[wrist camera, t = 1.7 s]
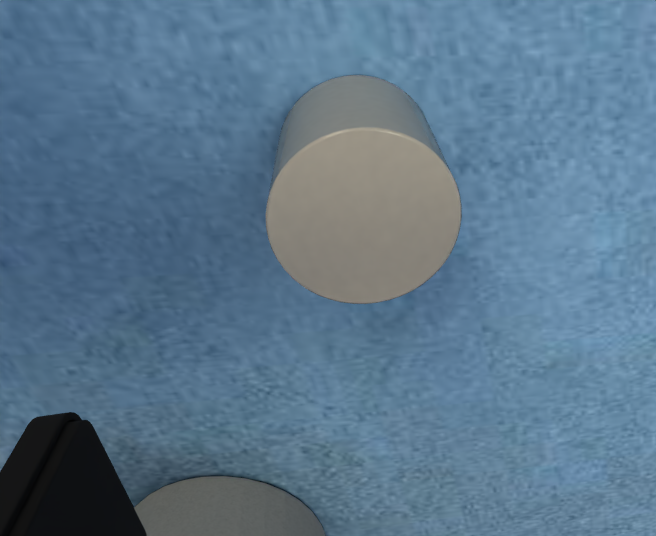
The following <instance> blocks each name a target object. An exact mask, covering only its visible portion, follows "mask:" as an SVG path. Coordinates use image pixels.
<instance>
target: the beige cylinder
mask: <svg viewBox="0 0 656 536" xmlns="http://www.w3.org/2000/svg"><path fill="white" fill-rule="evenodd" d="M461 218H462V215H461V200H460V194H459V191H458V187H457V184H456V182H455V180H454V177H453V175H452V173H451V171H450V169H449V167H448V165H447V163H446V161H445V158H444V156H443V154H442V152H441V150H440V148H439V146H438V144H437V142H436V140H435V137H434V135H433V133H432V131H431V129H430V127H429V125H428V123H427V121H426V119H425V116H424V114H423V112H422V111H421V109H420V108H419V106H418V105H417V103H416V102H415V101H414V100H413V99H412V98H411V97H410V96H409V95H408V94H407V93H406V92H404V91H403V90H402V89H400V88H399V87H397V86H396V85H394V84H392V83H390V82H387V81H385V80H382V79H379V78H376V77H371V76H364V75H350V76H342V77H338V78H334V79H331V80H328V81H326V82H323V83H321V84H319V85H317V86H316V87H314V88H312V89H311V90H310V91H308V92H307V93H306V94H304V95H303V96H302V97H301V98H300V99H299V100H298V101H297V102H296V103H295V105H294V106H293V107H292V109H291V110H290V112H289V113H288V115H287V117H286V119H285V121H284V123H283V126H282V128H281V132H280V136H279V141H278V147H277V152H276V157H275V163H274V168H273V173H272V179H271V184H270V189H269V195H268V200H267V207H266V229H267V235H268V239H269V242H270V245H271V248H272V250H273V252H274V254H275V256H276V258H277V260H278V261H279V263H280V264H281V265H282V267H283V268H284V269H285V270H286V272H287V273H288V274H289V275H290V276H291V277H292V278H293V279H294V280H296V281H297V282H298V283H299V284H300V285H302V286H303V287H305V288H306V289H308V290H309V291H311V292H313V293H315V294H317V295H319V296H322V297H325V298H328V299H330V300H335V301H339V302H344V303H352V304H368V303H378V302H382V301H387V300H391V299H394V298H397V297H400V296H402V295H404V294H407V293H409V292H411V291H413V290H414V289H416V288H418V287H419V286H421V285H422V284H423V283H425V282H426V281H427V280H429V279H430V278H431V277H432V276H433V275H434V274H435V273H436V272H437V271H438V270H439V269H440V268H441V266H442V265H443V264H444V263H445V261H446V260H447V258H448V257H449V255H450V253H451V252H452V250H453V247H454V245H455V243H456V241H457V237H458V234H459V230H460V225H461Z"/></svg>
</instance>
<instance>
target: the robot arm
mask: <svg viewBox="0 0 656 536" xmlns="http://www.w3.org/2000/svg"><path fill="white" fill-rule="evenodd" d="M0 536H147V534H146V531H145V529H144V527H143V525H142V523H141V521H140V519H139V517H138V515H137V513H136V511H135V509H134V507H133V505H132V503H131V501H130V499H129V497H128V495H127V493H126V491H125V489H124V487H123V485H122V483H121V481H120V479H119V477H118V475H117V473H116V471H115V469H114V467H113V465H112V463H111V461H110V459H109V457H108V455H107V453H106V451H105V449H104V447H103V445H102V443H101V441H100V439H99V437H98V435H97V433H96V431H95V429H94V427H93V426H92V424H91V423H90V422H89V421H88V420H81V418H80V417H79V415H77V414H76V413H72V412H69V413H62V414H55V415H48V416H40V417H36V418H34V419H32V421H31V422H30V423H29V424H28V426H27V427H26V429H25V431H24V433H23V434H22V436H21V438H20V439H19V441H18V443H17V444H16V446H15V448H14V449H13V451H12V453H11V455H10V456H9V458H8V460H7V461H6V463H5V465H4V466H3V468H2V470H1V472H0Z"/></svg>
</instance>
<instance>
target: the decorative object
mask: <svg viewBox="0 0 656 536" xmlns="http://www.w3.org/2000/svg"><path fill="white" fill-rule="evenodd" d="M134 509H135V511H136V513H137V515H138V517H139V519H140V521H141V523H142V525H143V527H144V529H145V531H146V534H147V536H326V535H325V532H324V530H323V527H322V525H321V523H320V522H319V521H318V519H317V518H316V516H315V515H314V514H313V512H312V511H311V510H310V509H309V508H308V507H307V506H305V505H304V504H303V503H302V502H301V501H300V500H298V499H297V498H295V497H293V496H292V495H290V494H288V493H287V492H285V491H283V490H281V489H278V488H276V487H273V486H271V485H268V484H266V483H262V482H258V481H254V480H250V479H246V478H237V477H227V476H212V477H199V478H193V479H187V480H182V481H179V482H176V483H173V484H170V485H167V486H164V487H162V488H161V489H159V490H157V491H155V492H153V493H151V494H150V495H148V496H147V497H146V498H145V499H144V500H142V501H141V502H140V503H139V504H138V505H137V506H135V508H134Z"/></svg>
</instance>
